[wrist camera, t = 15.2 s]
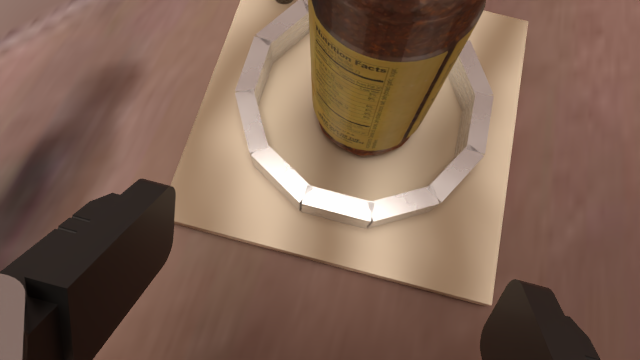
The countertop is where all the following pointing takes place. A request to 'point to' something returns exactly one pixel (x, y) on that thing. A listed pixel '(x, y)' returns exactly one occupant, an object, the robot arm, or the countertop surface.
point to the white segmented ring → (340, 207)
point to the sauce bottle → (382, 65)
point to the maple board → (354, 169)
